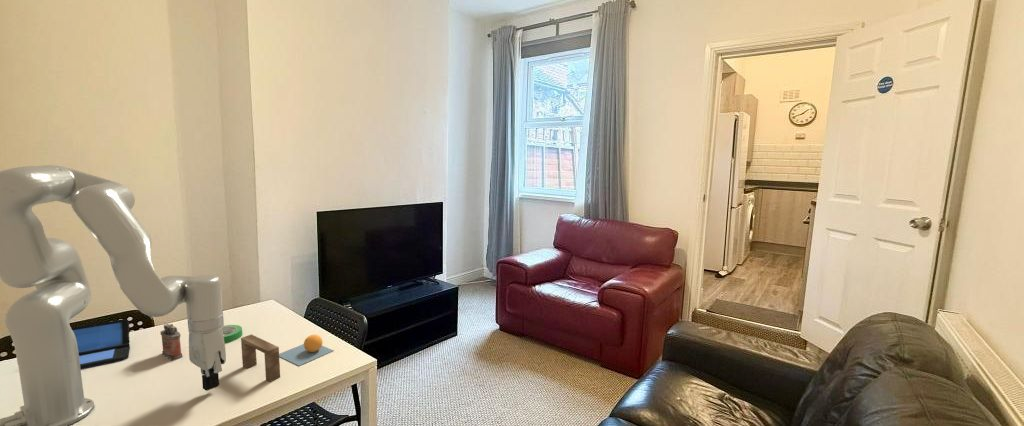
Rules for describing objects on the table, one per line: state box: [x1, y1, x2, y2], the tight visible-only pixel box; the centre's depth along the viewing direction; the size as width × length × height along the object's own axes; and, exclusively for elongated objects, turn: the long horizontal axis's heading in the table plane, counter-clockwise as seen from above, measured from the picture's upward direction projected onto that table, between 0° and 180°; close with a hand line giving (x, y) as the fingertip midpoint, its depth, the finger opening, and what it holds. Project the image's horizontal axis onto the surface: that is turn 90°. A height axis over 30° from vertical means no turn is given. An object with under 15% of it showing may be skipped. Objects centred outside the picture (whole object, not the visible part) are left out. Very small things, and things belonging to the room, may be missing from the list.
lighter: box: [160, 323, 183, 361], centre depth 130 cm, size 8×3×10 cm, turn 62°
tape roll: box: [222, 324, 243, 344], centre depth 144 cm, size 11×11×3 cm
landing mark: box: [279, 343, 335, 367], centre depth 135 cm, size 12×12×1 cm
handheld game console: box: [70, 318, 131, 370], centre depth 127 cm, size 16×13×9 cm
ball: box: [303, 334, 323, 352], centre depth 136 cm, size 6×6×6 cm
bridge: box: [240, 334, 281, 382], centre depth 123 cm, size 3×14×9 cm, turn 59°
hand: (211, 387), depth 112 cm, fingers closed
